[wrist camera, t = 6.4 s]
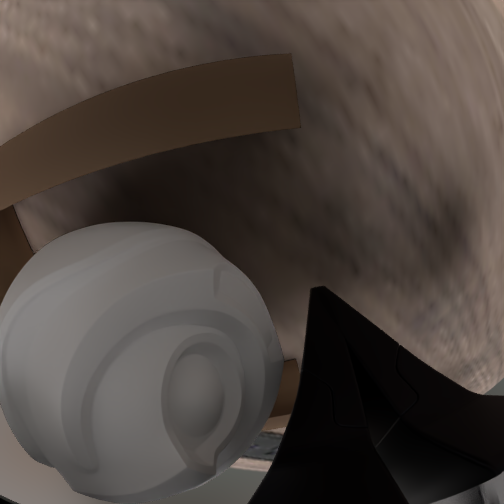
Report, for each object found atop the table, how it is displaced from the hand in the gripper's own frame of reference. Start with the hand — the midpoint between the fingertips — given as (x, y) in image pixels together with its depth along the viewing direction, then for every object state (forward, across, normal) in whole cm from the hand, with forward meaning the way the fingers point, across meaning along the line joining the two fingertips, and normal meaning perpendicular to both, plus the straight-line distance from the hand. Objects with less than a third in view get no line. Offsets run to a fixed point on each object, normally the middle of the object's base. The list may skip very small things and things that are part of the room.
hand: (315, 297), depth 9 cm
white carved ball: (+2, +5, 0) cm, 6 cm away
